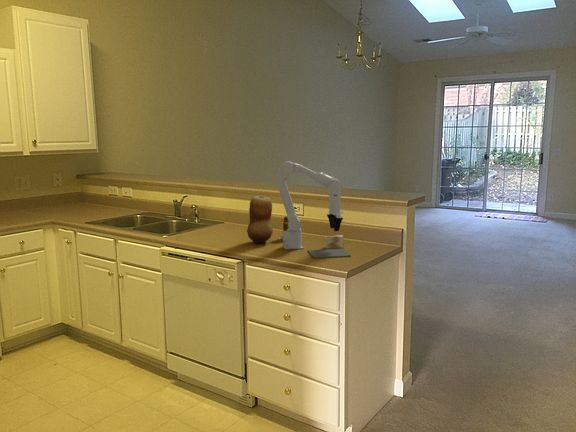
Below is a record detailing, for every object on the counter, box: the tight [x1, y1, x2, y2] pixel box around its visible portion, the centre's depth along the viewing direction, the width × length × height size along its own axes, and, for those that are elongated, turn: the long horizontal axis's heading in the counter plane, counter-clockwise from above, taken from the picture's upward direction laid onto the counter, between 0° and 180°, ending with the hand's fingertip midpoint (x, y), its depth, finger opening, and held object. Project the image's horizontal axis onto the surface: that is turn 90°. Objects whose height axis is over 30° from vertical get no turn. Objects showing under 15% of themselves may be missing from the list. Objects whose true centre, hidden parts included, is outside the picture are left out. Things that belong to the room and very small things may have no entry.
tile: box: [324, 234, 345, 249], centre depth 251 cm, size 9×3×6 cm, turn 100°
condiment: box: [278, 216, 289, 240], centre depth 272 cm, size 7×8×12 cm
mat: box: [307, 248, 352, 259], centre depth 239 cm, size 18×14×1 cm
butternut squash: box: [246, 195, 274, 244], centre depth 261 cm, size 14×13×25 cm
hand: (334, 229), depth 250 cm, fingers open, 7 cm apart
